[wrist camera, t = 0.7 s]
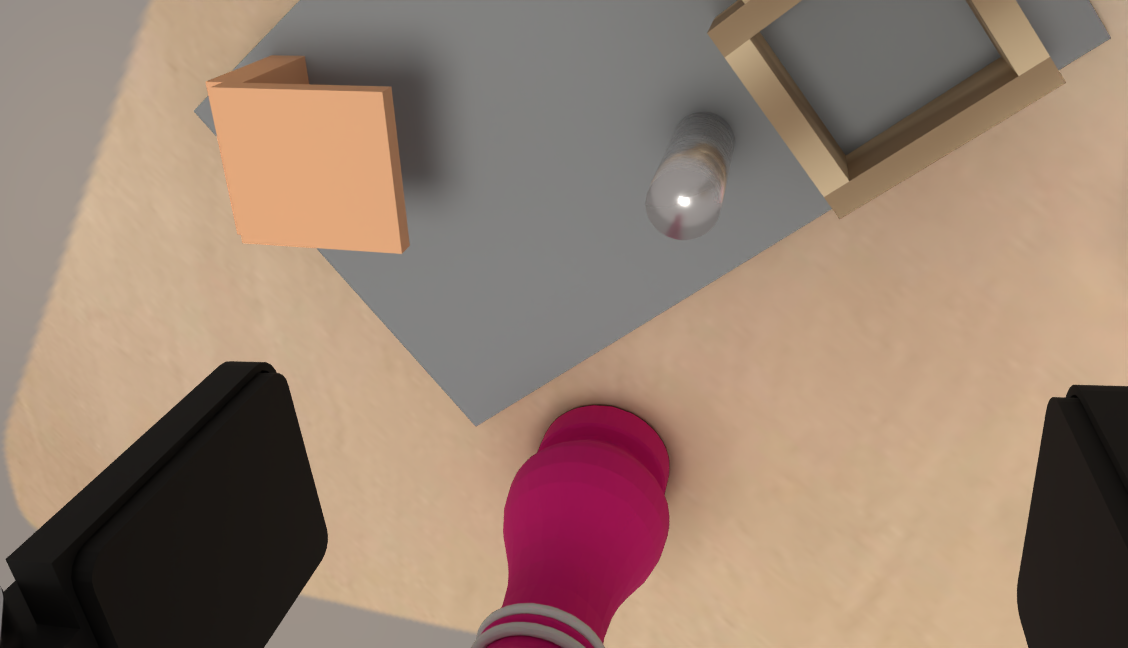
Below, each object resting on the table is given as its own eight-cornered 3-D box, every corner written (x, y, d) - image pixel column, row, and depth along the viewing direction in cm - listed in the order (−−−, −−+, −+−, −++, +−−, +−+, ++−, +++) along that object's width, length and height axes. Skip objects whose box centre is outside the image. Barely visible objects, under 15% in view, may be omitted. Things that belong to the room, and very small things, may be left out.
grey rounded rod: (710, 99, 34) (691, 153, 28) (747, 149, 35) (735, 213, 29) (660, 135, 35) (630, 196, 29) (696, 184, 36) (674, 253, 30)
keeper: (444, 55, 36) (382, 92, 31) (456, 197, 39) (401, 253, 34) (278, 52, 38) (193, 86, 33) (302, 189, 41) (226, 242, 35)
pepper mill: (503, 440, 45) (315, 816, 27) (612, 367, 41) (476, 743, 24) (599, 539, 46) (478, 954, 29) (711, 476, 43) (650, 903, 26)
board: (789, -504, 26) (789, -511, 26) (1106, 34, 31) (1110, 37, 30) (201, 107, 40) (193, 110, 39) (479, 419, 44) (475, 426, 44)
